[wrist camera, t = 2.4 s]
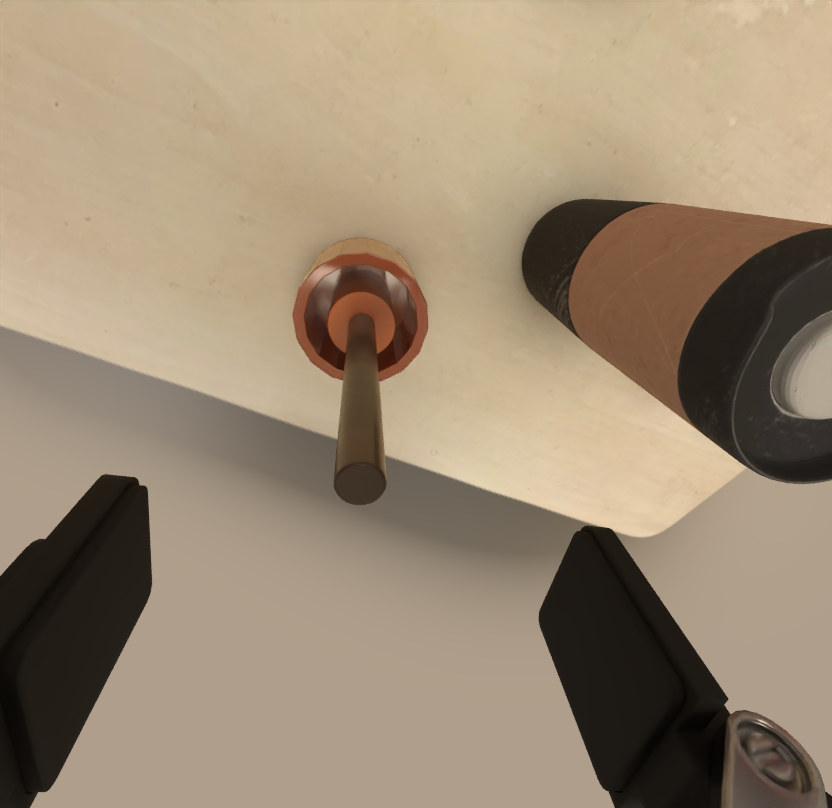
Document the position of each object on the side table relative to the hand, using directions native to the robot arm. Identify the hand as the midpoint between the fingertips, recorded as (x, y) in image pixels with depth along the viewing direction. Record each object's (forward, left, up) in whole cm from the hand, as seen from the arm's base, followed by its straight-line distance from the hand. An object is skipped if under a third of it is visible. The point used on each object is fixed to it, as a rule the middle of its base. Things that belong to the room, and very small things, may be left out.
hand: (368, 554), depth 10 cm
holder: (0, 0, -23) cm, 23 cm away
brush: (0, 0, -22) cm, 22 cm away
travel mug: (+9, +11, -23) cm, 27 cm away
